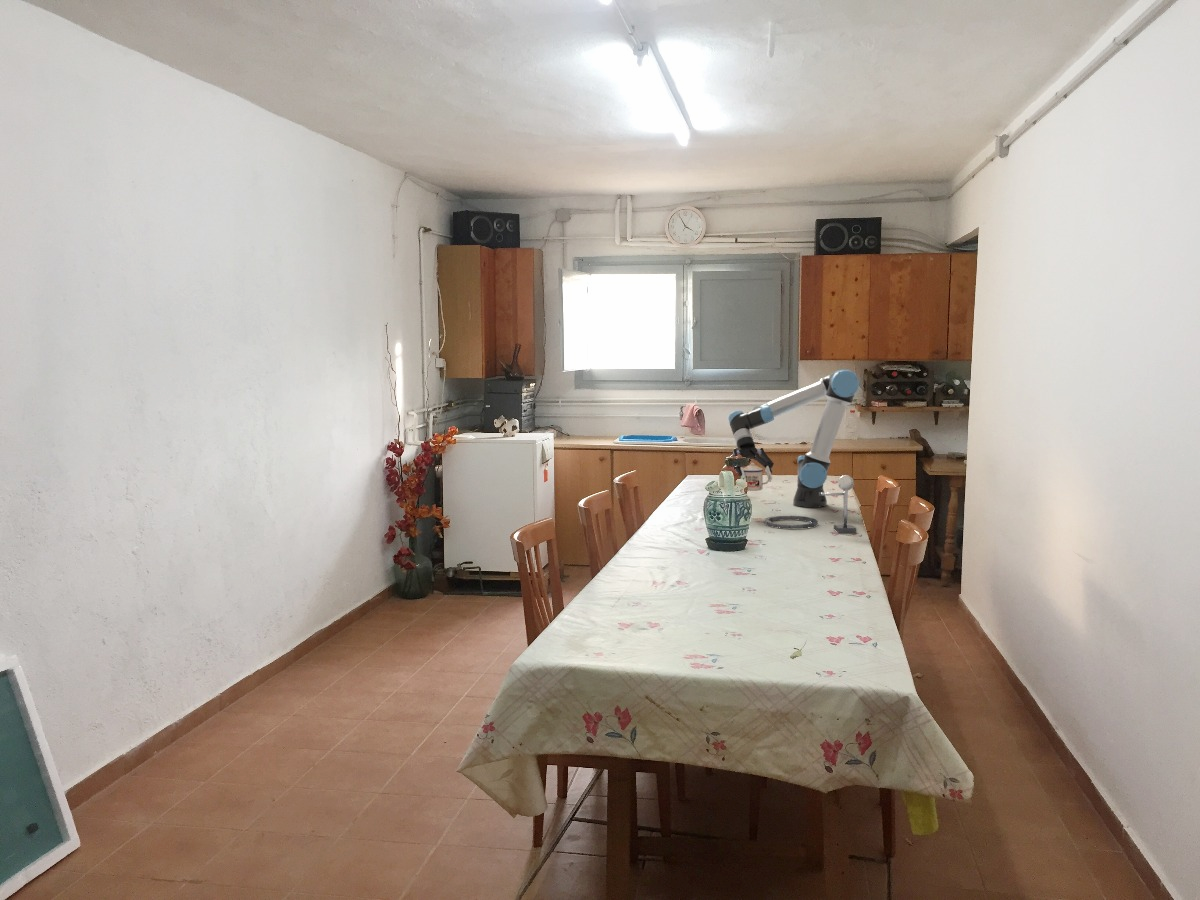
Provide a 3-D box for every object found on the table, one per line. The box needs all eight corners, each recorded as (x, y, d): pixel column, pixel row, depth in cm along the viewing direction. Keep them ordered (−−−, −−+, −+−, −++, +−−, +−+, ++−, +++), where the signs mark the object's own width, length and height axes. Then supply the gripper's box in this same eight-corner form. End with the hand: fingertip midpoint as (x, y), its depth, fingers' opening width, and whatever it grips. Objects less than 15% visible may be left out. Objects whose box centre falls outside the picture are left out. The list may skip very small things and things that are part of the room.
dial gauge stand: (851, 529, 361) (852, 473, 359) (856, 533, 354) (857, 476, 352) (816, 529, 361) (816, 474, 359) (820, 533, 354) (821, 476, 352)
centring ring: (810, 518, 384) (810, 515, 384) (822, 528, 363) (822, 525, 363) (761, 519, 384) (761, 515, 384) (770, 529, 363) (770, 525, 363)
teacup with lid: (740, 491, 387) (740, 464, 385) (743, 487, 395) (742, 461, 394) (768, 491, 383) (768, 464, 382) (770, 488, 392) (770, 461, 391)
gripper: (767, 445, 405) (781, 484, 391) (717, 447, 400) (729, 487, 387) (771, 434, 399) (786, 473, 386) (721, 436, 394) (733, 476, 381)
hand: (757, 480), depth 386 cm, fingers closed on teacup with lid, 11 cm apart
